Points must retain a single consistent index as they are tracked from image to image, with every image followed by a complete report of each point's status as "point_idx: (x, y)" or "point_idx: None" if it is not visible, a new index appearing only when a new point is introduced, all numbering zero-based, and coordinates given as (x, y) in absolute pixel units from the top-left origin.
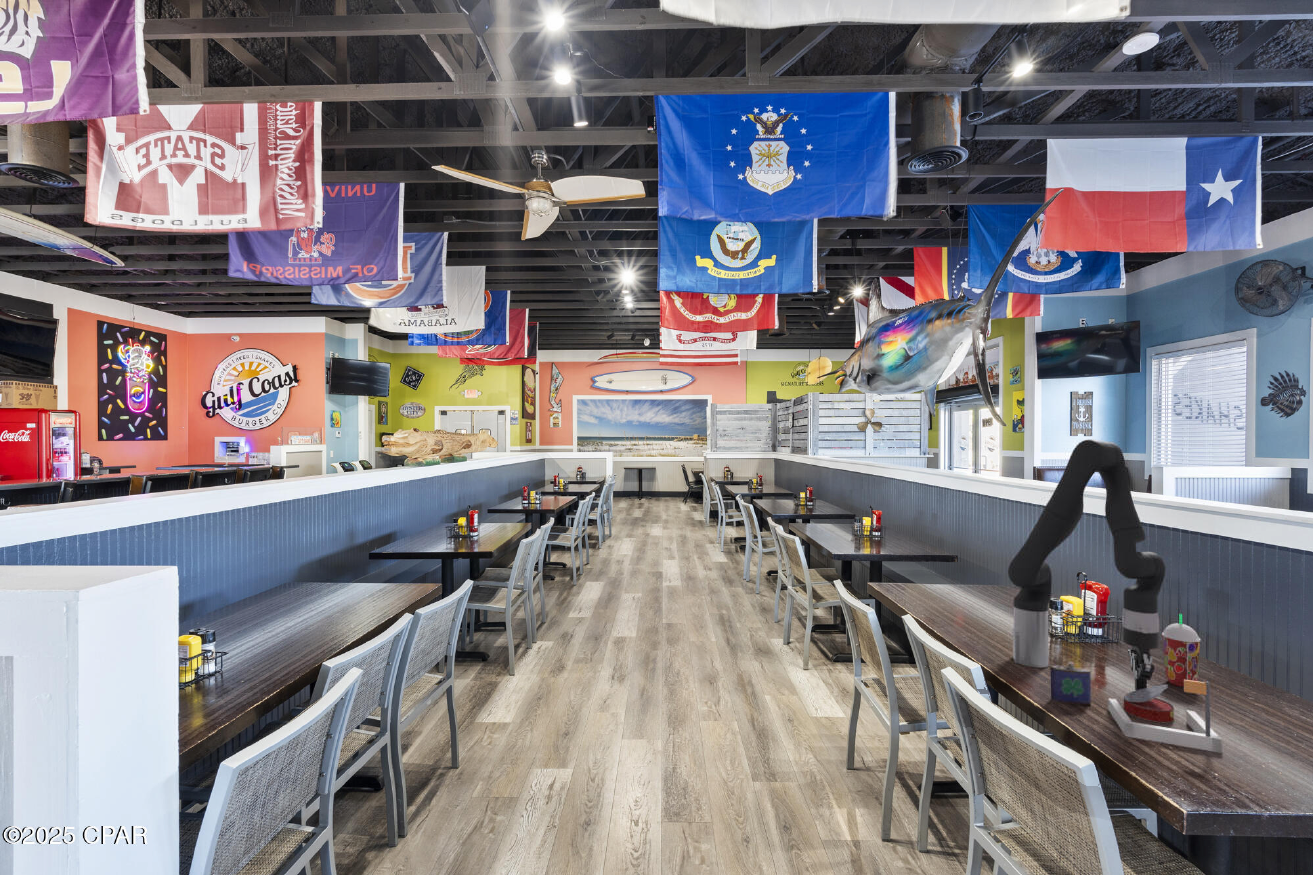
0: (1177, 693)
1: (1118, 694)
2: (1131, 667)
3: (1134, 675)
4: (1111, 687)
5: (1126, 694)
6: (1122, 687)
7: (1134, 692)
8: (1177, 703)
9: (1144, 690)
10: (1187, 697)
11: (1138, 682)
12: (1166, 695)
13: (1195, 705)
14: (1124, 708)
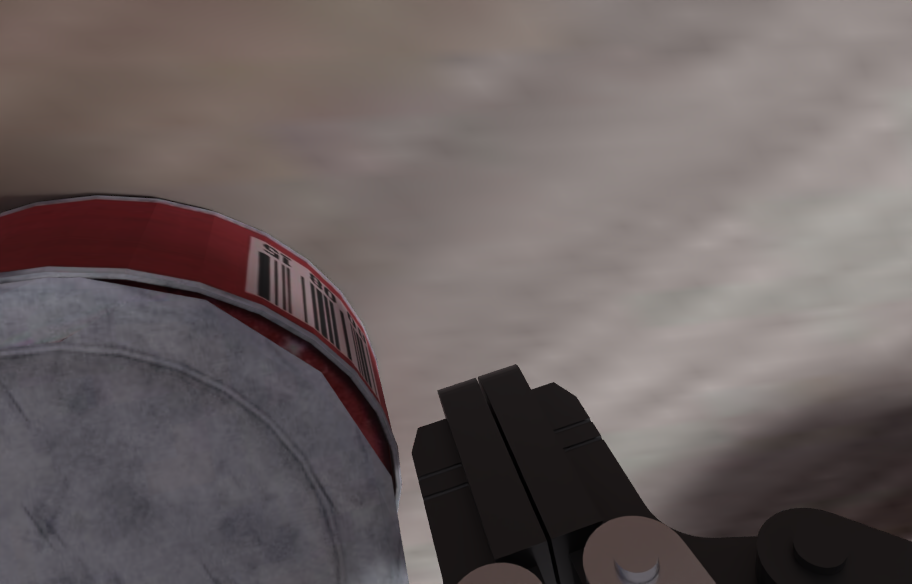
0: (889, 472)
1: (645, 101)
2: (876, 564)
3: (599, 546)
4: (871, 13)
5: (186, 300)
6: (908, 126)
7: (267, 411)
8: (661, 509)
9: (288, 559)
10: None
11: (467, 527)
12: (817, 433)
13: None
14: (12, 216)
